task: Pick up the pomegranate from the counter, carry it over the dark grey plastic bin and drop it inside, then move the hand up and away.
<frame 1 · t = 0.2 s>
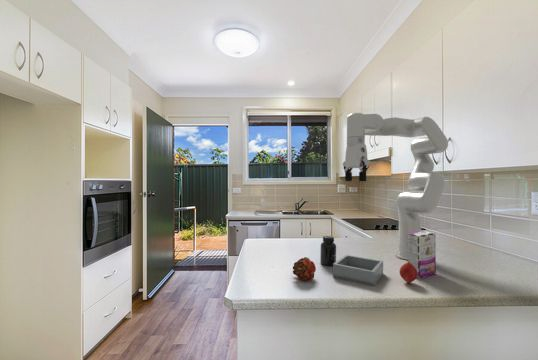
hand: (355, 181, 114), 37 cm above the worktop, tool pointing down, fingers open, 9 cm apart
candy bar box: (421, 274, 103), on the worktop
pomegranate: (408, 283, 94), on the worktop
dragon fruit: (304, 278, 99), on the worktop
supplement bottle: (328, 264, 115), on the worktop
bin: (358, 275, 102), on the worktop
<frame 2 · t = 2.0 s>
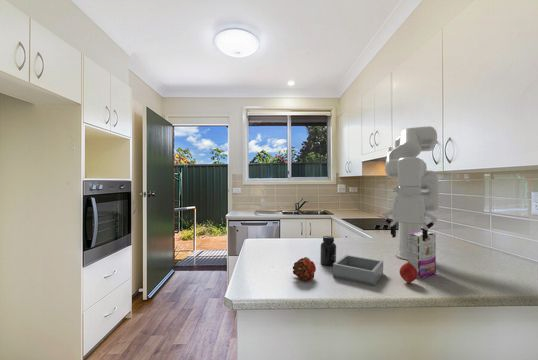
hand: (408, 238, 94), 16 cm above the worktop, tool pointing down, fingers open, 9 cm apart
nothing on the worktop moved.
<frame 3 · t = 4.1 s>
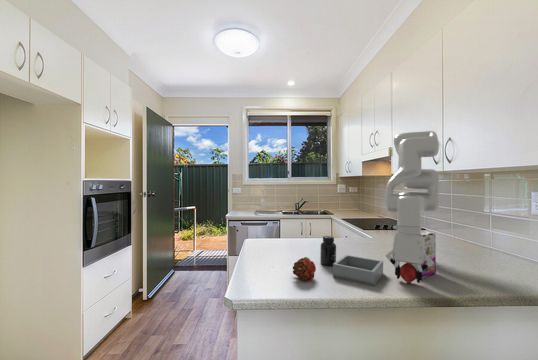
hand: (408, 279, 94), 1 cm above the worktop, tool pointing down, fingers closed on pomegranate, 5 cm apart
pomegranate: (408, 283, 94), on the worktop, touching gripper
everything else where it was.
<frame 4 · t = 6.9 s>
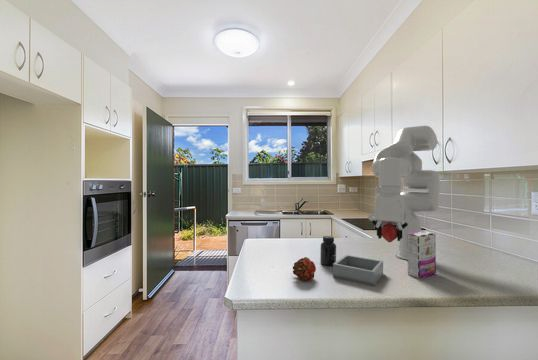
hand: (389, 238, 97), 15 cm above the worktop, tool pointing down, fingers closed on pomegranate, 5 cm apart
pomegranate: (389, 242, 97), point 14 cm above the worktop, touching gripper
everything else where it was.
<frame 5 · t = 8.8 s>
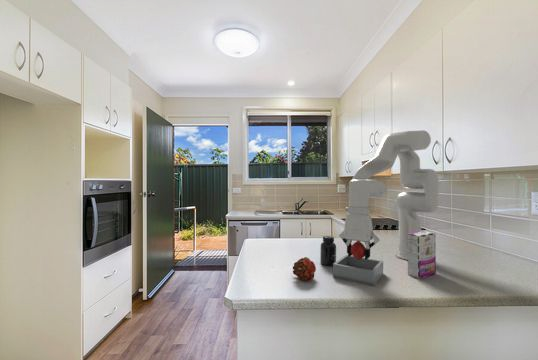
hand: (358, 256, 102), 7 cm above the worktop, tool pointing down, fingers closed on pomegranate, 5 cm apart
pomegranate: (358, 260, 102), point 6 cm above the worktop, touching gripper
everything else where it was.
when the fingers open (5 cm above the worktop, at t = 10.0 s): pomegranate drops 2 cm, resting on bin.
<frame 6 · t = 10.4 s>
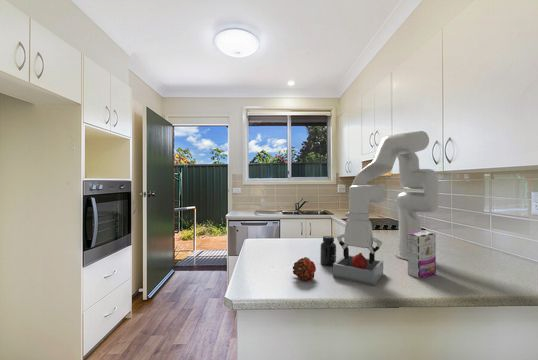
hand: (358, 260, 102), 6 cm above the worktop, tool pointing down, fingers open, 9 cm apart
pomegranate: (358, 272, 102), point 1 cm above the worktop, touching bin
everything else where it was.
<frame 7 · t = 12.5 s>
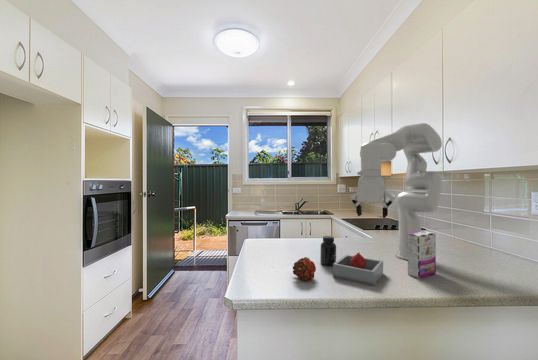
hand: (371, 216, 105), 23 cm above the worktop, tool pointing down, fingers open, 9 cm apart
nothing on the worktop moved.
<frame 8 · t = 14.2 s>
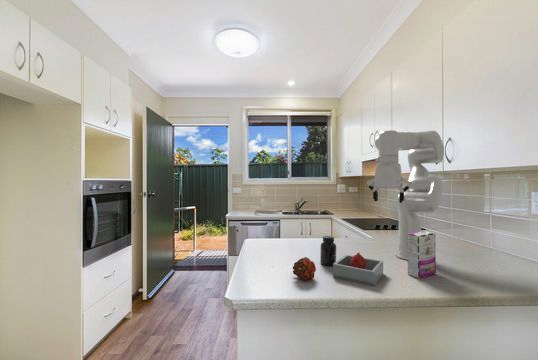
hand: (388, 201, 108), 28 cm above the worktop, tool pointing down, fingers open, 9 cm apart
nothing on the worktop moved.
at the end: pomegranate inside the target area on the bin (0.1 cm from its centre), point 0.8 cm above the bin's base; the gripper is holding nothing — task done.
